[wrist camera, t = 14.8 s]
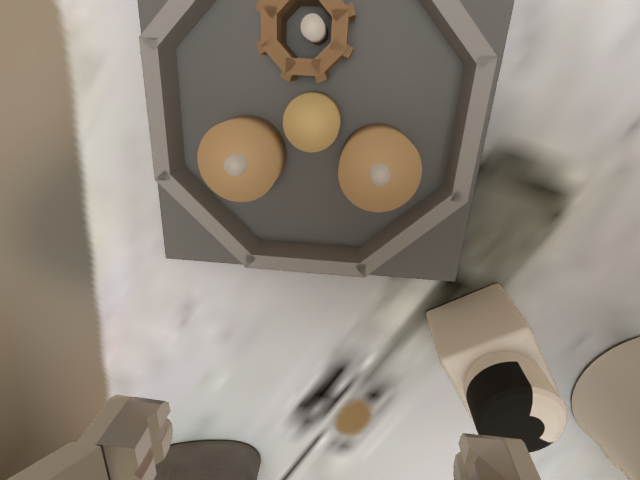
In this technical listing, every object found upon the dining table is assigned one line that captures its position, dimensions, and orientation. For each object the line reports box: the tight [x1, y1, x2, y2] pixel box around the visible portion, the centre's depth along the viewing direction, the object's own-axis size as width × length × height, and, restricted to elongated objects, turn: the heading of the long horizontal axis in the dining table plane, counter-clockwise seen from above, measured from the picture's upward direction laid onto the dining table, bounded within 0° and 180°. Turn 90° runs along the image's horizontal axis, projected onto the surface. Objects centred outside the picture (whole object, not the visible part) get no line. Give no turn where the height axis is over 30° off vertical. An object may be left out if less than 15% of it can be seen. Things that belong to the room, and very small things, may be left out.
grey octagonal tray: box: [138, 0, 514, 282], centre depth 29 cm, size 26×26×6 cm
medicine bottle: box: [426, 283, 567, 452], centre depth 32 cm, size 7×7×12 cm
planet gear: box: [255, 0, 356, 83], centre depth 26 cm, size 6×6×4 cm
